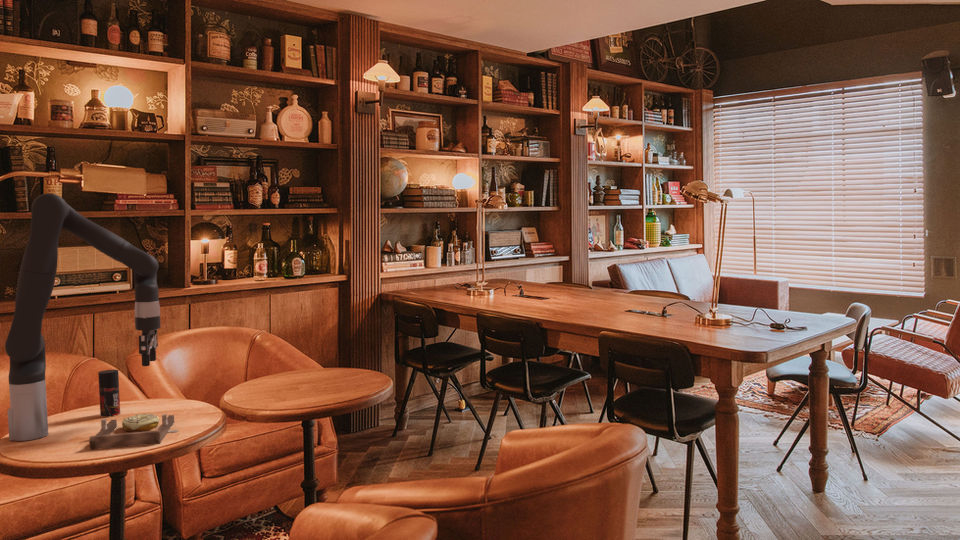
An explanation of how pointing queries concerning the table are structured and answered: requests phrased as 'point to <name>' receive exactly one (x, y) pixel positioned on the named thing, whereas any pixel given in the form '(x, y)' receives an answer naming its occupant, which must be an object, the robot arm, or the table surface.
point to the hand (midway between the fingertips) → (149, 363)
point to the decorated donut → (140, 422)
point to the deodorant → (109, 392)
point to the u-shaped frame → (129, 435)
